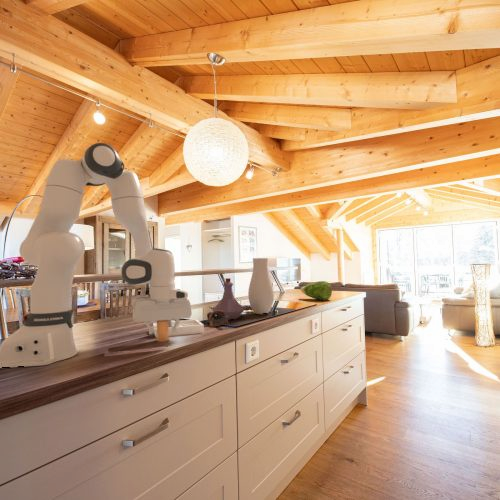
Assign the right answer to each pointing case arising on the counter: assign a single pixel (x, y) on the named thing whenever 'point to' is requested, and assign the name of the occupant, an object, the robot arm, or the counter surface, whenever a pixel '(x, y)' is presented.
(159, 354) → the counter surface
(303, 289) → the lettuce
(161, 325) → the orange cylinder
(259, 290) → the vase
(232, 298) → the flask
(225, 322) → the pottery mug
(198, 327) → the housing
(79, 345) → the counter surface
